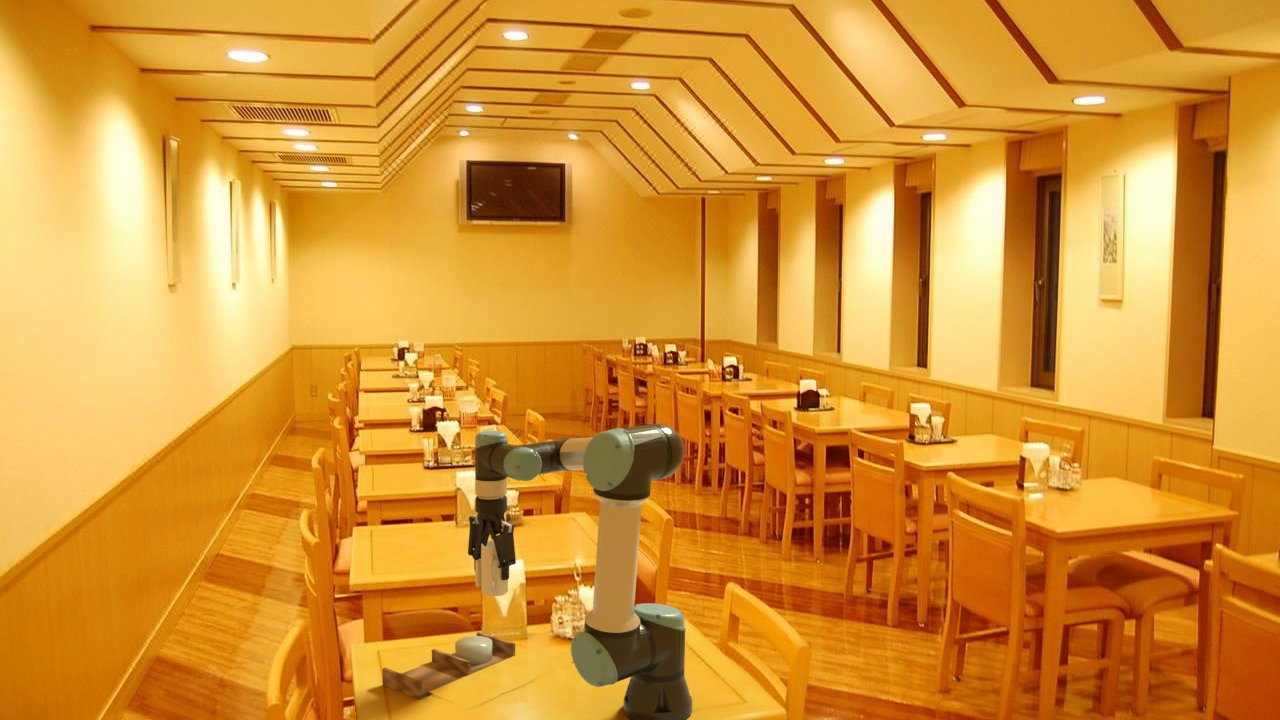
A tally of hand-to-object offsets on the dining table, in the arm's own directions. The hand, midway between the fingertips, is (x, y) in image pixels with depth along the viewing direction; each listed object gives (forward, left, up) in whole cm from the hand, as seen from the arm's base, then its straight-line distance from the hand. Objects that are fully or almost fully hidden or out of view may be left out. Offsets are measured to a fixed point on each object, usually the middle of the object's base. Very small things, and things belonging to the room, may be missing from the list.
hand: (491, 588), depth 245 cm
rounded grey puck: (+6, +1, -19) cm, 19 cm away
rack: (+6, +8, -20) cm, 22 cm away
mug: (-1, 0, -1) cm, 2 cm away
